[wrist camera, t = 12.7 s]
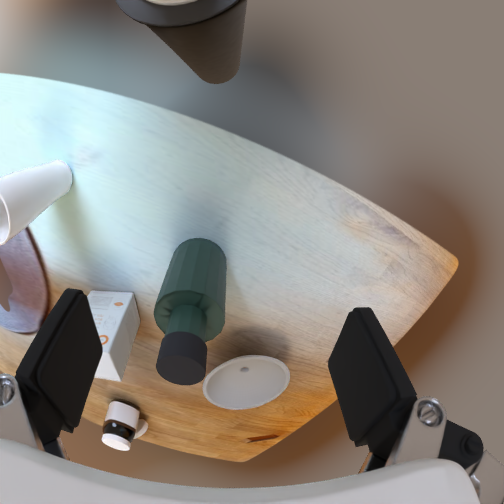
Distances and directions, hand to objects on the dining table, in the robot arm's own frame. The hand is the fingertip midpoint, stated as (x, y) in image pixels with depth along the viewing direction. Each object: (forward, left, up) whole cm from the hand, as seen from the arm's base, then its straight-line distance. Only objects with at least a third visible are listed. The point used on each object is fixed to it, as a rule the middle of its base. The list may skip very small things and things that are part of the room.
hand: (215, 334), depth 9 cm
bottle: (+10, -9, -27) cm, 30 cm away
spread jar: (+39, -48, -28) cm, 68 cm away
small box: (+11, -26, -28) cm, 40 cm away
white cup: (-11, -21, -28) cm, 37 cm away
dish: (+33, -13, -28) cm, 45 cm away
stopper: (+10, -9, -15) cm, 21 cm away
